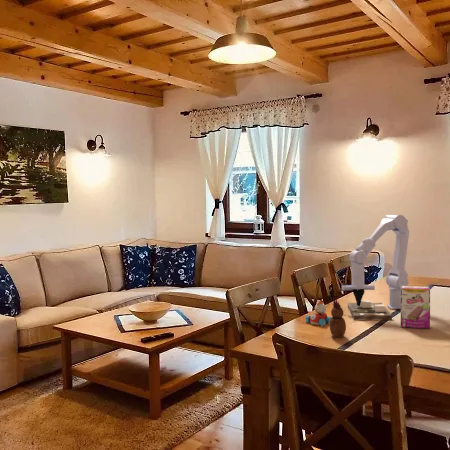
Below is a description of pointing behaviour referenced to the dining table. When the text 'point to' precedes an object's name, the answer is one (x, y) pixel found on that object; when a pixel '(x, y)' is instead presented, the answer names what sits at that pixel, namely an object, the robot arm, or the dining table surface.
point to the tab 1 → (365, 304)
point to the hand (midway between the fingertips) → (358, 305)
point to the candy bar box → (415, 307)
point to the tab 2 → (379, 307)
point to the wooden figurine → (337, 320)
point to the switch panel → (368, 313)
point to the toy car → (319, 315)
